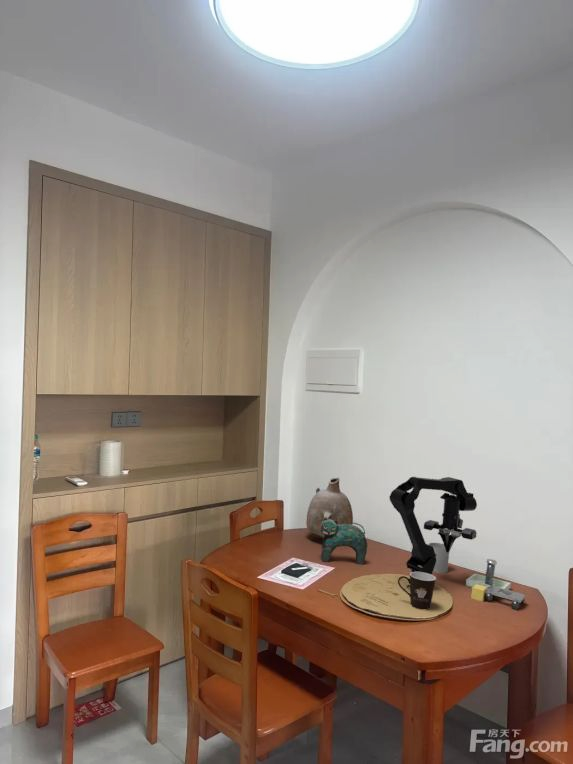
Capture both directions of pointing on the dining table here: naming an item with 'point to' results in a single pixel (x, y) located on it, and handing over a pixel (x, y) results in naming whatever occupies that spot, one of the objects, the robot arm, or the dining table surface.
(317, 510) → the jug
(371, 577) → the dining table surface
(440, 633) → the dining table surface
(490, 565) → the pin
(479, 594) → the yellow block
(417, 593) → the coffee mug
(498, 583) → the tray
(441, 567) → the cup
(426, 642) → the dining table surface
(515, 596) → the cart
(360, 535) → the ceramic cat
